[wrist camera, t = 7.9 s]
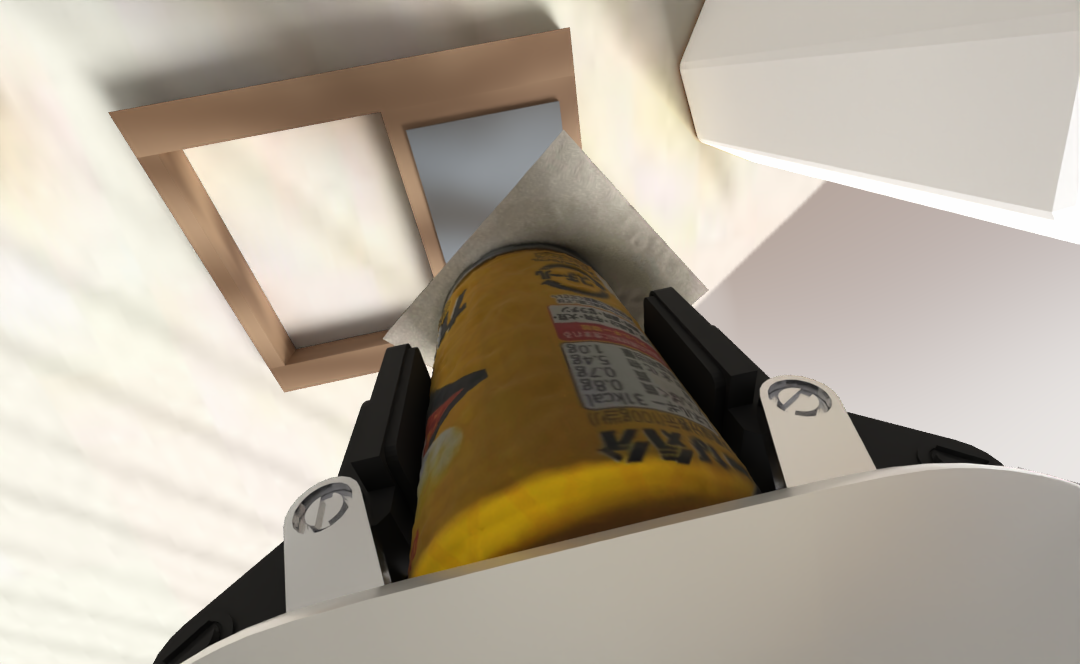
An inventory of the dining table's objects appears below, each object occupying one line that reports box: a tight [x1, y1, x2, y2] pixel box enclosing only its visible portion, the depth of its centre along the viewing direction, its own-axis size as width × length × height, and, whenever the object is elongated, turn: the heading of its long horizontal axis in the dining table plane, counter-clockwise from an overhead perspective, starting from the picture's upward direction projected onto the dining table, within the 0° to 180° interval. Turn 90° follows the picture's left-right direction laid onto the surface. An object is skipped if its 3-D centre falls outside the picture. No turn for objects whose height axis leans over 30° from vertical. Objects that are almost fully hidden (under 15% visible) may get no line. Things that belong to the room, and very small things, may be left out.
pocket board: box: [108, 27, 582, 392], centre depth 25 cm, size 17×22×2 cm
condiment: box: [383, 130, 762, 579], centre depth 9 cm, size 7×8×12 cm
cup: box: [680, 0, 1080, 244], centre depth 16 cm, size 11×11×18 cm
